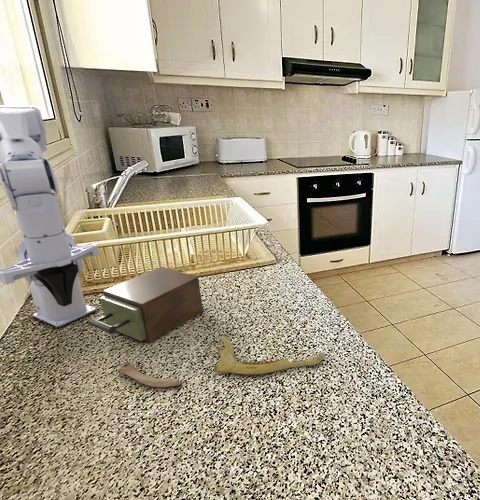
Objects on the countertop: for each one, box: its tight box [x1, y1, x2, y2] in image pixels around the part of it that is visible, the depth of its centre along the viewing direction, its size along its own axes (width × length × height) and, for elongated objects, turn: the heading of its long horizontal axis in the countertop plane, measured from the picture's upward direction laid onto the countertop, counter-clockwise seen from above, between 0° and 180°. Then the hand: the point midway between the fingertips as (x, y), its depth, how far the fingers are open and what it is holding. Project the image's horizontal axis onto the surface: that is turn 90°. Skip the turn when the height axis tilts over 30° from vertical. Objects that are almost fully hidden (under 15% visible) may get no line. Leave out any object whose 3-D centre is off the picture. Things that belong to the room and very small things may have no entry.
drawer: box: [88, 295, 147, 342], centre depth 76 cm, size 17×10×7 cm, turn 154°
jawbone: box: [213, 335, 326, 375], centre depth 67 cm, size 21×9×2 cm, turn 79°
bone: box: [117, 362, 180, 388], centre depth 63 cm, size 3×11×2 cm, turn 72°
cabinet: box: [102, 266, 204, 343], centre depth 79 cm, size 14×12×9 cm
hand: (64, 303), depth 68 cm, fingers closed
